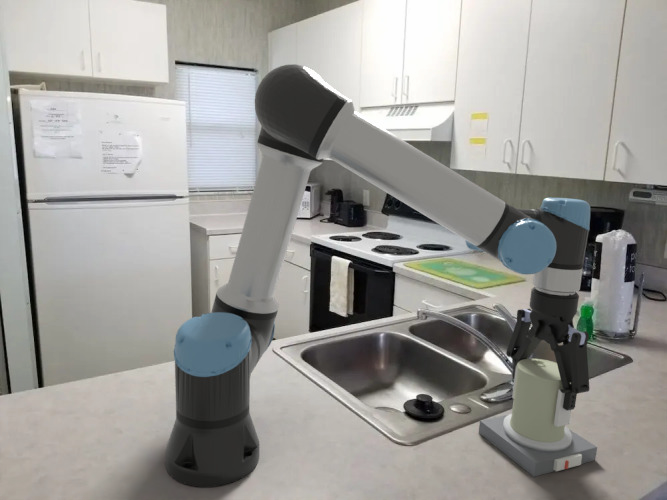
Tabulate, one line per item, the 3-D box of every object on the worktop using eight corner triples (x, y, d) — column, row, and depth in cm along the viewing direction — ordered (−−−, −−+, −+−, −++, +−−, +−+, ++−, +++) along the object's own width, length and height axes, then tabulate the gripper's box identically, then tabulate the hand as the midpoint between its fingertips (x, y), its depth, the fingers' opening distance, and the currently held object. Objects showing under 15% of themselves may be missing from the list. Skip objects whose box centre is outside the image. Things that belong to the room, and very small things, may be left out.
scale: (538, 480, 83) (540, 461, 82) (478, 432, 97) (480, 415, 96) (600, 463, 88) (603, 445, 88) (535, 420, 102) (537, 404, 101)
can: (550, 416, 97) (558, 356, 95) (574, 443, 88) (583, 378, 86) (502, 414, 97) (509, 355, 94) (521, 442, 88) (529, 376, 85)
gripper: (629, 306, 79) (607, 439, 83) (525, 272, 99) (512, 381, 103) (594, 310, 76) (573, 447, 80) (494, 275, 96) (482, 386, 100)
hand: (539, 410), depth 92 cm, fingers open, 9 cm apart
